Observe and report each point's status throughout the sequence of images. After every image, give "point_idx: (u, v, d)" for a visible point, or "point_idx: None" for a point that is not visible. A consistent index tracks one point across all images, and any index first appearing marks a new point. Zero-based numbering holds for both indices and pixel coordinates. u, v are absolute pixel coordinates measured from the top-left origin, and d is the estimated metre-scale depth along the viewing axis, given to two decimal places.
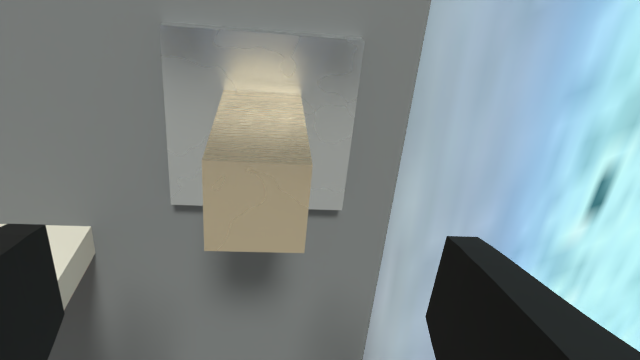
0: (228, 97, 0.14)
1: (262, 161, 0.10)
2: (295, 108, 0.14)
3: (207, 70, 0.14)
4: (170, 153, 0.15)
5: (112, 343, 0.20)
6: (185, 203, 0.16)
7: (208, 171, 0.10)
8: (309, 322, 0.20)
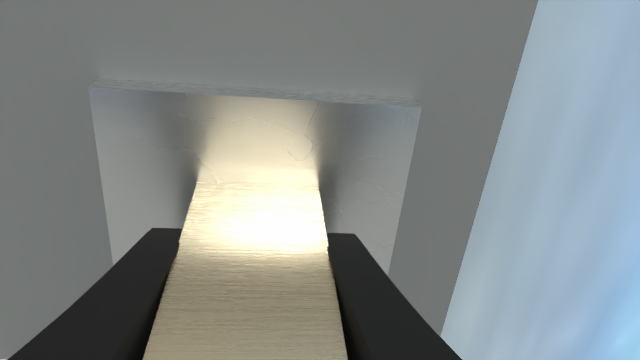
0: (202, 199, 0.09)
1: None
2: (312, 223, 0.08)
3: (170, 154, 0.09)
4: None
5: None
6: None
7: None
8: None
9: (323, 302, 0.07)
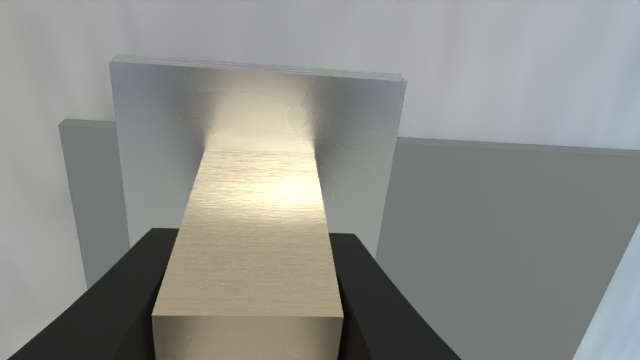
0: (210, 163, 0.10)
1: (256, 312, 0.06)
2: (308, 183, 0.09)
3: (181, 123, 0.10)
4: (132, 233, 0.11)
5: None
6: None
7: (164, 330, 0.06)
8: None
9: (317, 241, 0.07)
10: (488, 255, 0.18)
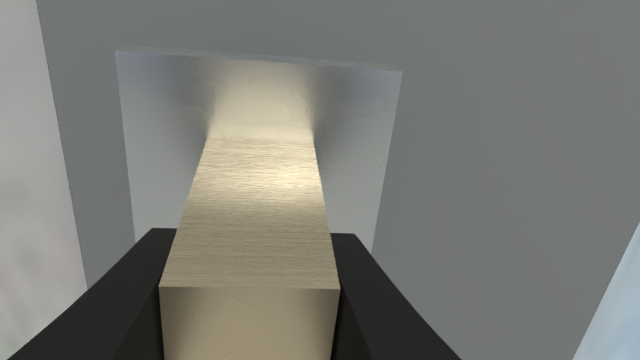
0: (212, 149, 0.10)
1: (257, 283, 0.06)
2: (307, 168, 0.10)
3: (184, 111, 0.10)
4: (137, 219, 0.11)
5: None
6: None
7: (170, 301, 0.06)
8: (543, 292, 0.19)
9: (315, 221, 0.08)
10: (569, 1, 0.13)
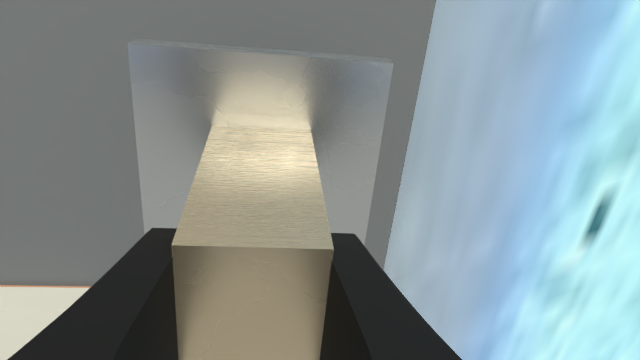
0: (217, 135, 0.11)
1: (260, 244, 0.07)
2: (305, 152, 0.10)
3: (191, 100, 0.11)
4: (145, 204, 0.12)
5: None
6: None
7: (181, 259, 0.07)
8: None
9: (312, 195, 0.09)
10: None
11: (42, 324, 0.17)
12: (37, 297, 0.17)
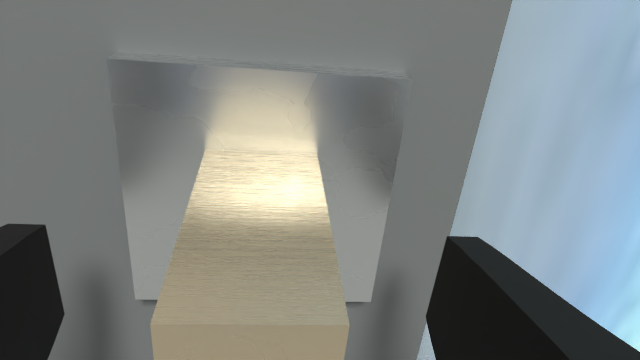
0: (211, 163, 0.09)
1: (259, 320, 0.06)
2: (311, 184, 0.09)
3: (181, 122, 0.10)
4: (131, 234, 0.11)
5: None
6: (155, 297, 0.12)
7: (163, 339, 0.06)
8: None
9: (321, 245, 0.07)
10: None
11: None
12: None
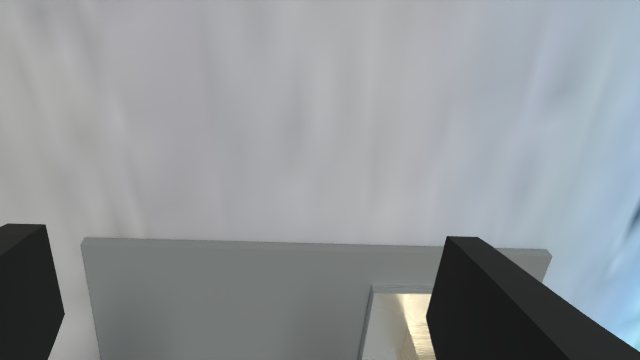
0: (415, 335, 0.21)
1: None
2: None
3: (399, 314, 0.21)
4: (363, 359, 0.22)
5: None
6: None
7: None
8: None
9: None
10: None
11: None
12: None
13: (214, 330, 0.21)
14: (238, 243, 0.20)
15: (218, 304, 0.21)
